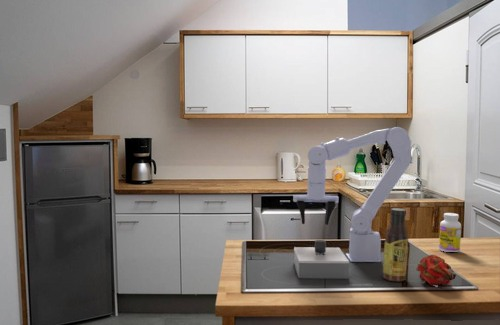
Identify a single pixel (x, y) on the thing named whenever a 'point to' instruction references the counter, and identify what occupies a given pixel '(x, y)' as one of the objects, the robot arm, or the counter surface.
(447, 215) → the supplement bottle
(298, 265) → the slotted white block
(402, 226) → the sauce bottle
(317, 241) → the plunger
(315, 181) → the robot arm
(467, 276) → the counter surface
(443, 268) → the dragon fruit
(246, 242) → the counter surface
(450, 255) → the counter surface
